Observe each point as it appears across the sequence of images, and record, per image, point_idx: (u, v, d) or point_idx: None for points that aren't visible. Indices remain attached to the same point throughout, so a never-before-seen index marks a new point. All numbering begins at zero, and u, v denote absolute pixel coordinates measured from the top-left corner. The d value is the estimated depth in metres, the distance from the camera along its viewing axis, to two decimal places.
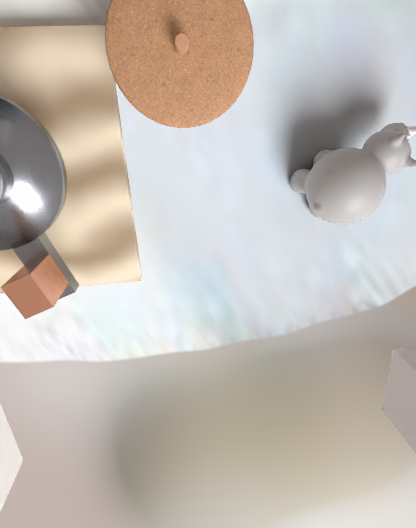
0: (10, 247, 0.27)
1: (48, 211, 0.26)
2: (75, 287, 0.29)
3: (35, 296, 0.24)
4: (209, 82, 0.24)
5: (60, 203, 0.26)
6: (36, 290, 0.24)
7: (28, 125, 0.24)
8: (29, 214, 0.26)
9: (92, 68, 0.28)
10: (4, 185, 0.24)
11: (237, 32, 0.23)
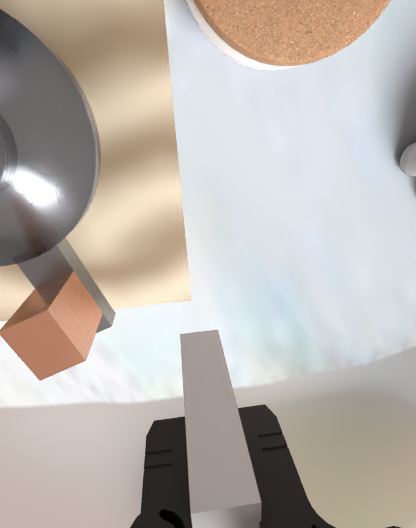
0: (13, 261, 0.17)
1: (73, 203, 0.16)
2: (110, 317, 0.20)
3: (55, 345, 0.14)
4: None
5: (92, 190, 0.16)
6: (57, 336, 0.14)
7: (40, 55, 0.14)
8: (42, 209, 0.16)
9: None
10: (1, 158, 0.14)
11: None
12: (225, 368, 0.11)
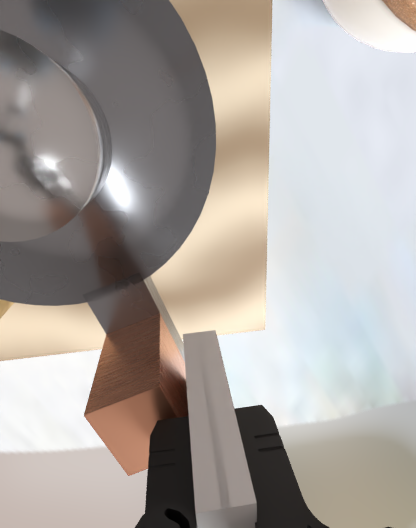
0: (83, 299, 0.13)
1: (174, 227, 0.12)
2: None
3: None
4: None
5: None
6: None
7: (166, 21, 0.10)
8: (133, 233, 0.12)
9: None
10: (103, 164, 0.10)
11: None
12: (222, 368, 0.11)
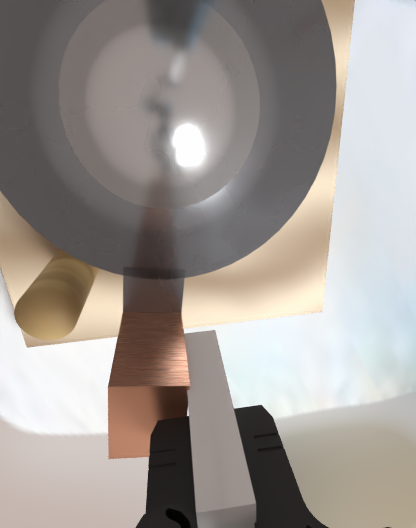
0: (121, 271, 0.13)
1: (236, 245, 0.13)
2: None
3: None
4: None
5: None
6: (175, 417, 0.10)
7: (325, 82, 0.11)
8: (200, 234, 0.12)
9: None
10: None
11: None
12: (222, 368, 0.11)
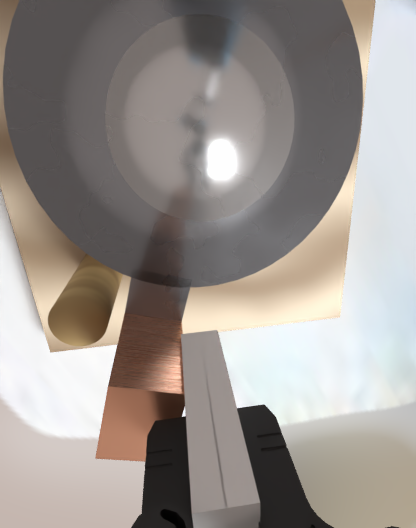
0: (130, 273, 0.13)
1: (244, 262, 0.13)
2: None
3: None
4: None
5: None
6: None
7: (350, 121, 0.12)
8: (212, 247, 0.13)
9: None
10: None
11: None
12: (224, 368, 0.11)
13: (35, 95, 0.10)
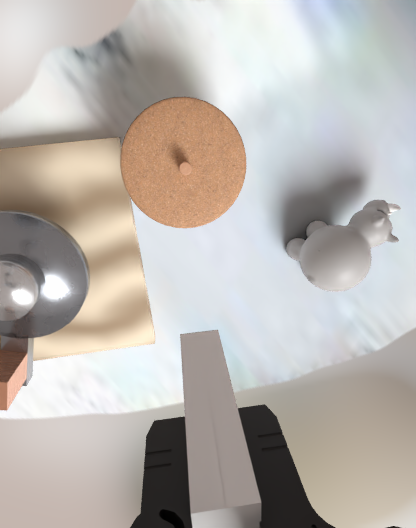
0: (0, 333, 0.30)
1: (50, 327, 0.31)
2: (28, 380, 0.33)
3: None
4: (209, 192, 0.28)
5: None
6: (2, 394, 0.28)
7: (80, 273, 0.29)
8: (34, 321, 0.30)
9: (107, 172, 0.33)
10: (33, 305, 0.28)
11: (231, 152, 0.27)
12: (225, 368, 0.11)
13: None
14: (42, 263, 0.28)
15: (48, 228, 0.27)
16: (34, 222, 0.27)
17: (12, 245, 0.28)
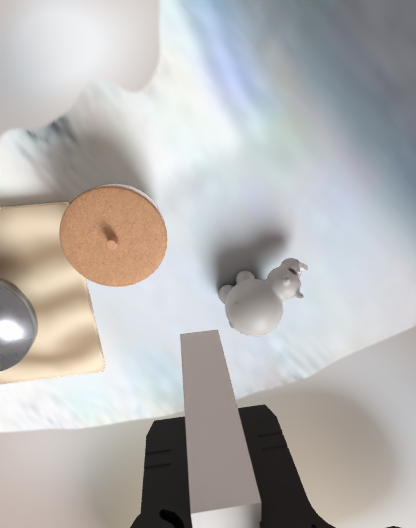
0: None
1: (3, 365, 0.36)
2: None
3: None
4: (136, 259, 0.34)
5: None
6: None
7: (27, 322, 0.35)
8: None
9: (57, 231, 0.38)
10: None
11: (153, 229, 0.33)
12: (225, 368, 0.11)
13: None
14: None
15: None
16: None
17: None
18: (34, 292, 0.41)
